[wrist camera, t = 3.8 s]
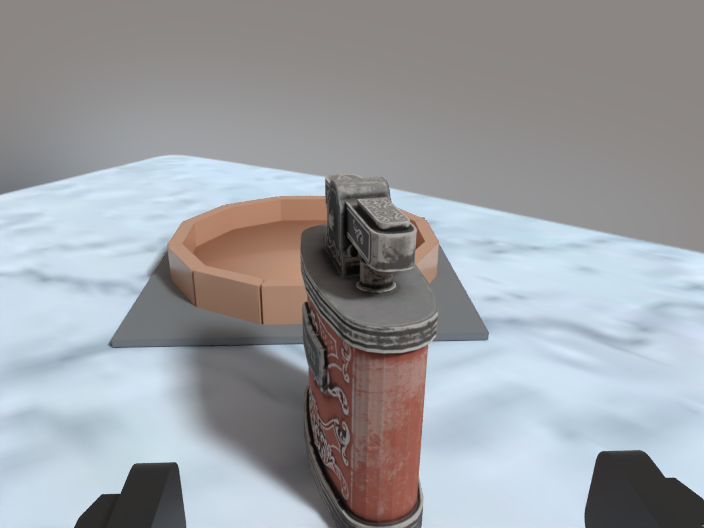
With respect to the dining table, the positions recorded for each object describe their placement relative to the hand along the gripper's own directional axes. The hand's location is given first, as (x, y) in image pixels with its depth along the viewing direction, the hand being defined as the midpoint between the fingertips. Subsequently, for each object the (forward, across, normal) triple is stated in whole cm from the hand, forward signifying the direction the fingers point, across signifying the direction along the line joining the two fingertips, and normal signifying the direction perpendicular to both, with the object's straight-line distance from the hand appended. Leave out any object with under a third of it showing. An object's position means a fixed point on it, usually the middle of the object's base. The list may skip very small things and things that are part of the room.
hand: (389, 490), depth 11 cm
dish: (+25, +2, +6) cm, 26 cm away
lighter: (+8, 0, +6) cm, 10 cm away
